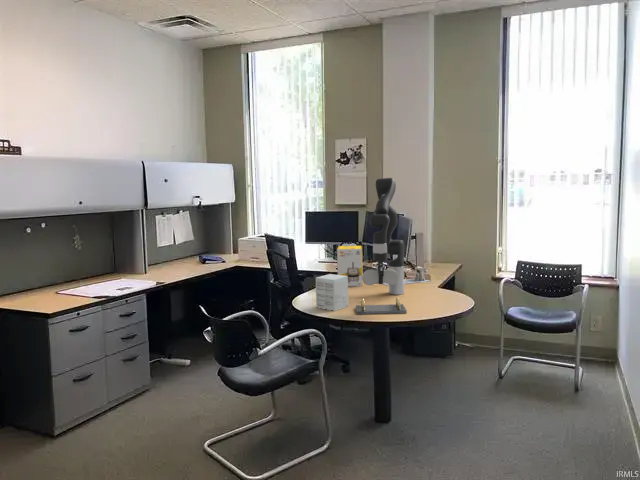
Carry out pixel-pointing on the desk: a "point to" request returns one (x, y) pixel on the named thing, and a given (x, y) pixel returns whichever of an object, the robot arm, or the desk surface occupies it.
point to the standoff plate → (380, 308)
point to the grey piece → (372, 277)
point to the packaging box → (350, 264)
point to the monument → (418, 277)
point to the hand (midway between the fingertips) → (380, 283)
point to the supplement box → (332, 292)
